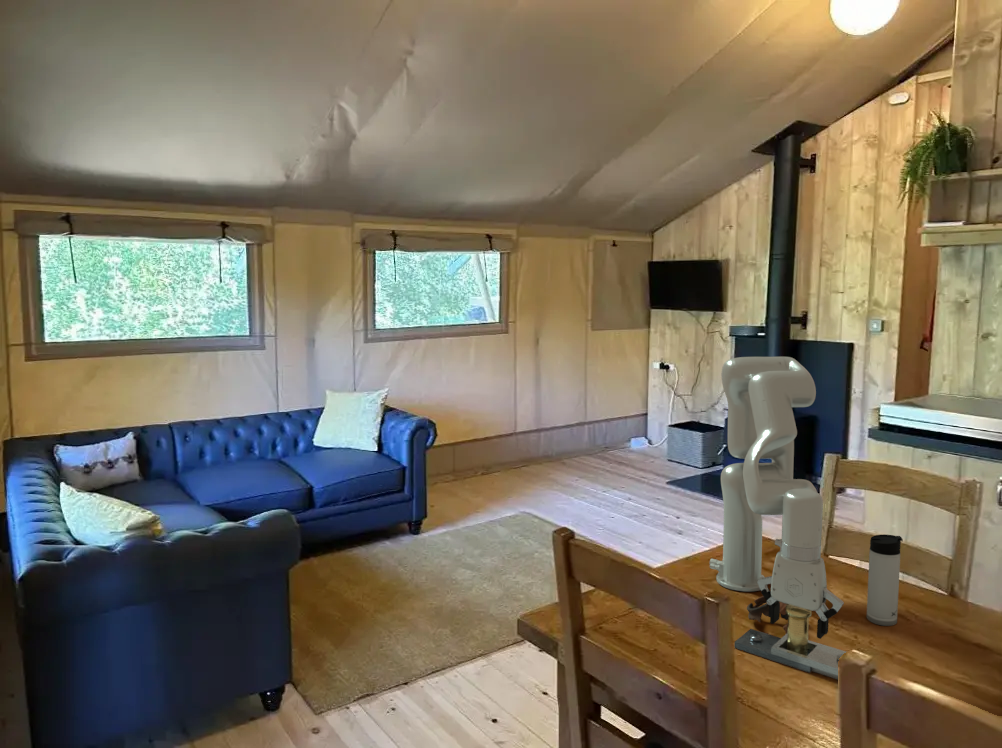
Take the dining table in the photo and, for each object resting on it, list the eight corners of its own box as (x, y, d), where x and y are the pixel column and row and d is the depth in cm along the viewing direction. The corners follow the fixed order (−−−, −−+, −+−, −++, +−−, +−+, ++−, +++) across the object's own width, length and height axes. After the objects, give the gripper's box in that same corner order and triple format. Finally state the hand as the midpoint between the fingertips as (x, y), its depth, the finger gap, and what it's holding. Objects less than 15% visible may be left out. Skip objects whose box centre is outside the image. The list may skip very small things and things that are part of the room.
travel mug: (902, 627, 170) (906, 541, 167) (870, 625, 171) (874, 540, 169) (893, 615, 176) (897, 532, 174) (863, 613, 177) (867, 531, 175)
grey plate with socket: (734, 648, 162) (734, 633, 162) (750, 634, 168) (750, 620, 168) (851, 686, 146) (852, 670, 146) (865, 670, 152) (865, 654, 152)
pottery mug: (784, 643, 165) (764, 609, 166) (753, 645, 173) (734, 613, 174) (813, 615, 171) (794, 582, 172) (782, 618, 179) (764, 587, 180)
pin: (780, 659, 157) (781, 609, 156) (789, 650, 161) (791, 601, 159) (804, 667, 154) (806, 615, 152) (813, 658, 157) (815, 607, 156)
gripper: (752, 545, 157) (749, 622, 160) (838, 566, 146) (834, 649, 148) (767, 535, 163) (764, 609, 165) (851, 555, 151) (847, 635, 154)
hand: (797, 628), depth 157 cm, fingers open, 9 cm apart
